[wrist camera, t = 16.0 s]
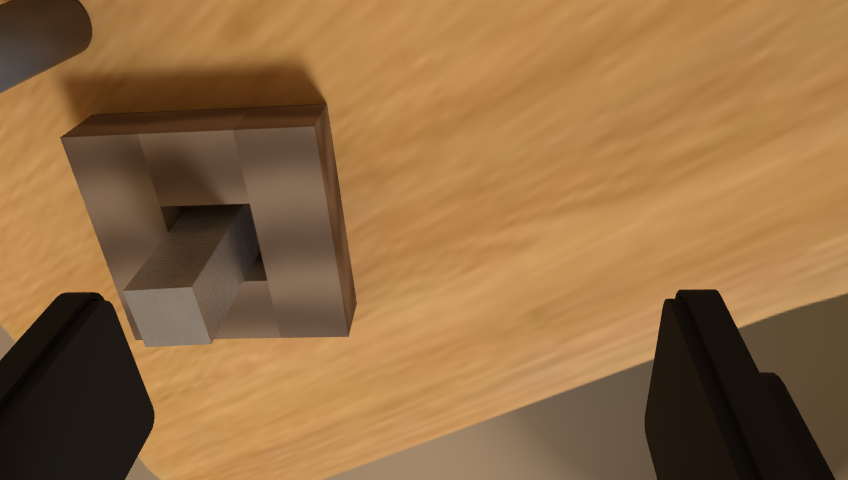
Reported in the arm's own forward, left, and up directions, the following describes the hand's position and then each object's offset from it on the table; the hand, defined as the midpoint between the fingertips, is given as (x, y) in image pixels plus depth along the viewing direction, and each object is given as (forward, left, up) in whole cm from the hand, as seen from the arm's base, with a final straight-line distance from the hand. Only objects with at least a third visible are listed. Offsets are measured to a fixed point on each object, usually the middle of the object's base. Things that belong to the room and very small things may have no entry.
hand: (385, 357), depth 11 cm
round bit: (0, -24, -32) cm, 40 cm away
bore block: (+14, -16, -32) cm, 39 cm away
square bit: (+14, -16, -32) cm, 39 cm away
